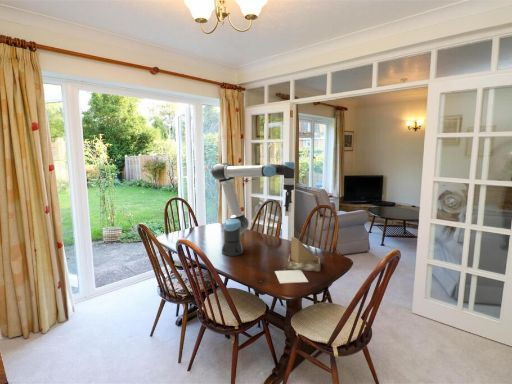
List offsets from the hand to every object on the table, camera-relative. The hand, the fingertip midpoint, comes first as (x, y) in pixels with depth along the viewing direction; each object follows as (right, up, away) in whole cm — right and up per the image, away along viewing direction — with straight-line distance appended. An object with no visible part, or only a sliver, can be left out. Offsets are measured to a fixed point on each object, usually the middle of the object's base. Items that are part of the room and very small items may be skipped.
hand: (288, 213), depth 207 cm
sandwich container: (+8, -28, -21) cm, 36 cm away
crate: (+8, -31, -21) cm, 39 cm away
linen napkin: (-2, -34, -37) cm, 51 cm away
